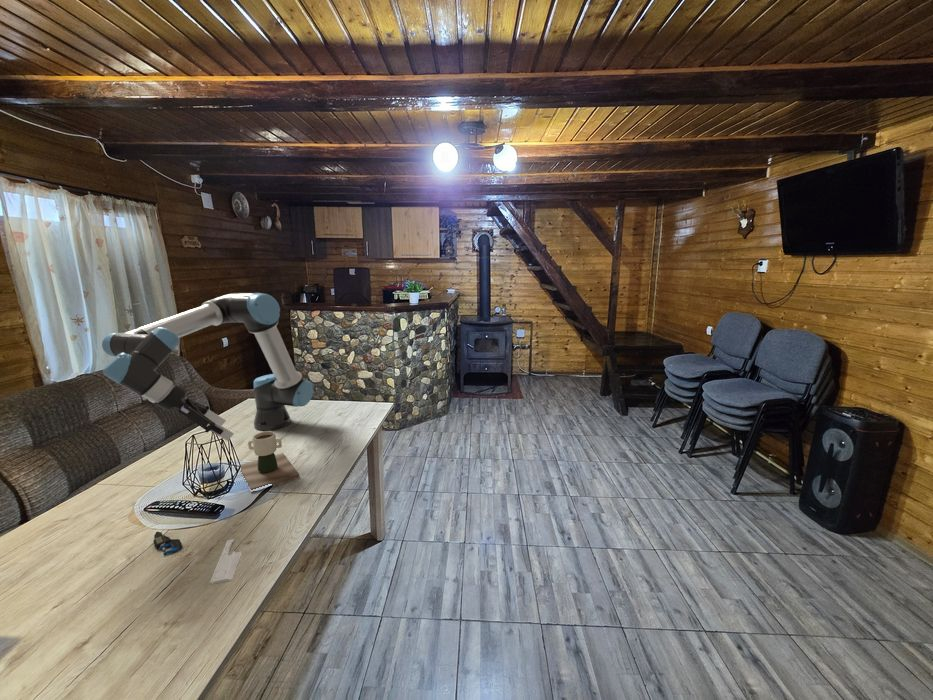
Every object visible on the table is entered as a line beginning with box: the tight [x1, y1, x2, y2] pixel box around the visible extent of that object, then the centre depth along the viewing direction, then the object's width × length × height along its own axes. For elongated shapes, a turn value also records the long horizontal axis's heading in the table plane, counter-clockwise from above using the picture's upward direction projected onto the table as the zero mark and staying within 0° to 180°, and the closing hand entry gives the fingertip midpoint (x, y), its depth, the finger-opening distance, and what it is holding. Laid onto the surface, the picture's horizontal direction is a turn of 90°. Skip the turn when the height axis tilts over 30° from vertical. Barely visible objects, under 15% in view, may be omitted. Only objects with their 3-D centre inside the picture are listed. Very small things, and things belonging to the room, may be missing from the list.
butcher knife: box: [209, 538, 242, 585], centre depth 99 cm, size 5×15×1 cm, turn 17°
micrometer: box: [153, 531, 183, 556], centre depth 105 cm, size 12×2×5 cm
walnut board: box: [240, 452, 300, 490], centre depth 140 cm, size 20×15×2 cm
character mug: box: [247, 430, 283, 472], centre depth 139 cm, size 11×7×13 cm, turn 98°
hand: (226, 430), depth 131 cm, fingers open, 13 cm apart
